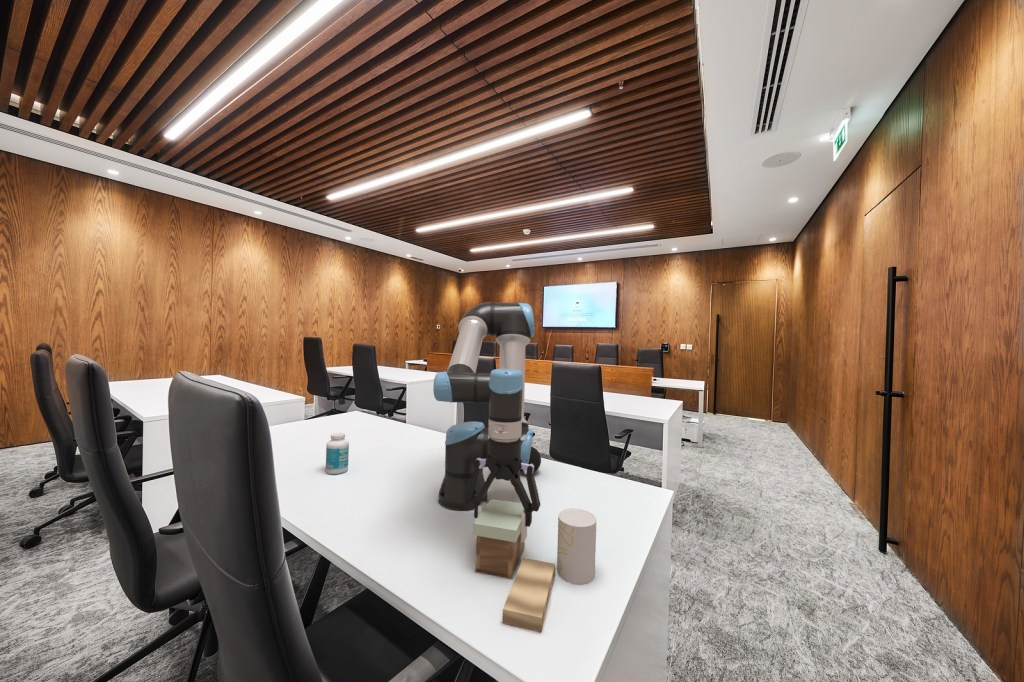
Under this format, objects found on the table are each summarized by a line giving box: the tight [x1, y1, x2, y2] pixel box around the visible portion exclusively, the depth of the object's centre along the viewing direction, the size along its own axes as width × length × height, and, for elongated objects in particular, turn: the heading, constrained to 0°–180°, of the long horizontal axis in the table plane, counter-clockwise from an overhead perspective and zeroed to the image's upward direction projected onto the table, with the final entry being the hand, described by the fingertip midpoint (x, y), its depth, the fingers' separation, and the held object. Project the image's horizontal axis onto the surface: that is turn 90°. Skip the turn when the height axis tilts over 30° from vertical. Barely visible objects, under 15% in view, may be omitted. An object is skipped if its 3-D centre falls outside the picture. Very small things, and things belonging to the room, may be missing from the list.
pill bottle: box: [325, 432, 350, 475], centre depth 135 cm, size 8×7×14 cm
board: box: [501, 557, 556, 633], centre depth 73 cm, size 16×7×2 cm, turn 165°
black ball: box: [519, 445, 542, 475], centre depth 138 cm, size 10×10×10 cm
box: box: [475, 532, 526, 580], centre depth 85 cm, size 12×8×8 cm, turn 165°
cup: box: [556, 508, 597, 586], centre depth 81 cm, size 8×8×12 cm
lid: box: [472, 498, 524, 542], centre depth 85 cm, size 12×10×3 cm
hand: (502, 535), depth 85 cm, fingers closed on lid, 9 cm apart
